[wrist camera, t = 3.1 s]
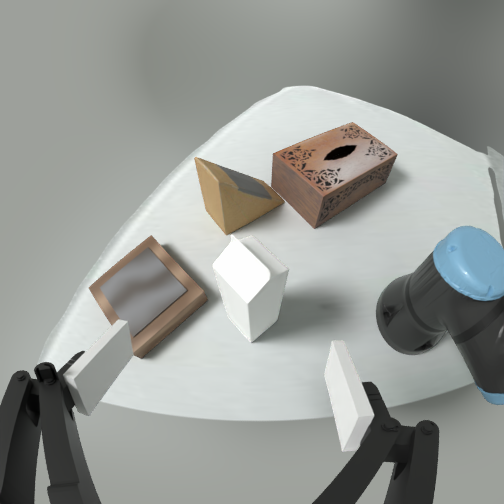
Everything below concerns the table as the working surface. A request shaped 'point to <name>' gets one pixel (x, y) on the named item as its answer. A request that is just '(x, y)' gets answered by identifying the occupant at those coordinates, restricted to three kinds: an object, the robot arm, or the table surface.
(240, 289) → the milk
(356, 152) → the tissue box cover
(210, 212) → the sandwich container
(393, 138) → the table surface
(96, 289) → the walnut plinth
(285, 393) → the table surface
